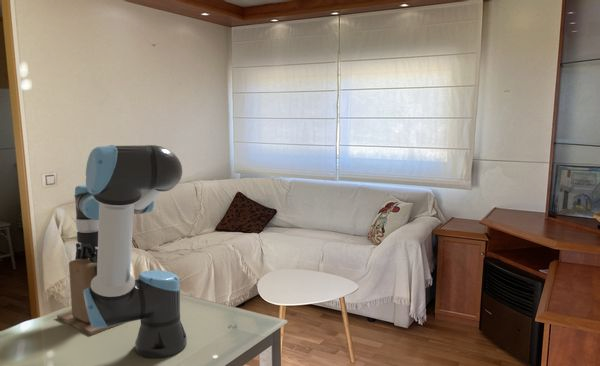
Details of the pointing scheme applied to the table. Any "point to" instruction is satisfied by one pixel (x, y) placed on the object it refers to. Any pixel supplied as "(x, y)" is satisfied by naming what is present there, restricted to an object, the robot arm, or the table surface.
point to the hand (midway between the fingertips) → (92, 293)
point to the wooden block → (80, 285)
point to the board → (80, 323)
